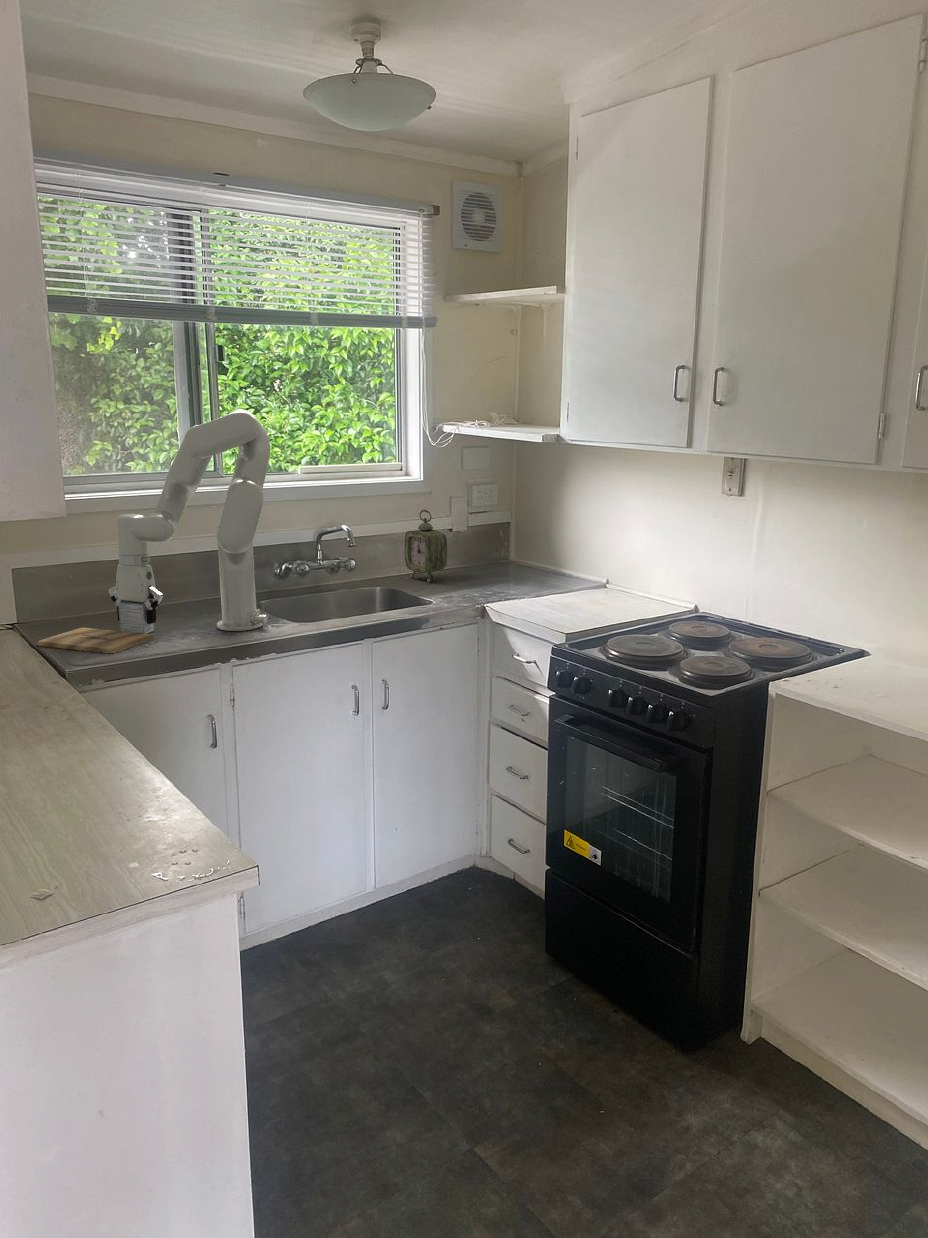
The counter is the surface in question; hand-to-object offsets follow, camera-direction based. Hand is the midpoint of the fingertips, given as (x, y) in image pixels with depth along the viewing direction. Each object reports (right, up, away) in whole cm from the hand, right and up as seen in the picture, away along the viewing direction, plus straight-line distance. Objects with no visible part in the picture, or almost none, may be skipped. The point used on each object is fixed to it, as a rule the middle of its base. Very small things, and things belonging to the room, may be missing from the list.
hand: (137, 621), depth 255 cm
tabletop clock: (+77, +14, +75) cm, 108 cm away
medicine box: (0, -3, +1) cm, 3 cm away
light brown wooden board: (-7, -5, -10) cm, 13 cm away
